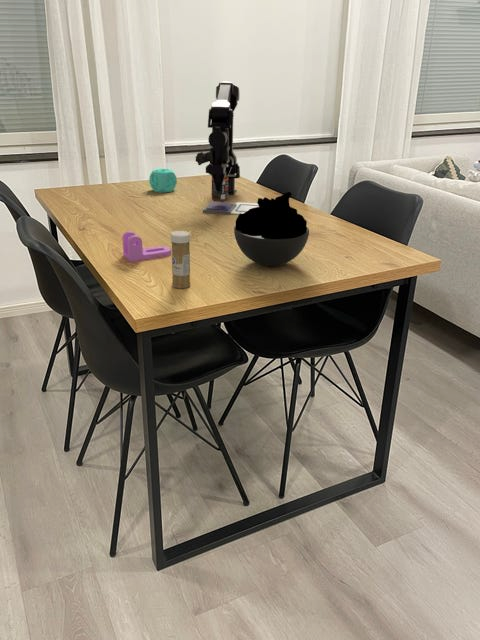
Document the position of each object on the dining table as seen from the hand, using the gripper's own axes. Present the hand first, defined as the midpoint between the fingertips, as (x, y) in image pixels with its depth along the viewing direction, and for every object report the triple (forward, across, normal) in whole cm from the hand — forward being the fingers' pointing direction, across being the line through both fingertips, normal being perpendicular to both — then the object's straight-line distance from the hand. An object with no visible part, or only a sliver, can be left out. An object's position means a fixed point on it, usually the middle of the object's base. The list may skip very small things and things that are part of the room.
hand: (220, 189), depth 207 cm
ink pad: (+7, 0, 0) cm, 7 cm away
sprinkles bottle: (+7, +74, +7) cm, 75 cm away
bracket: (+7, +54, -8) cm, 55 cm away
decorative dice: (+8, -24, -29) cm, 38 cm away
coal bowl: (+7, +53, +26) cm, 60 cm away
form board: (+7, -3, +11) cm, 14 cm away
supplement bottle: (+4, 0, 0) cm, 4 cm away
